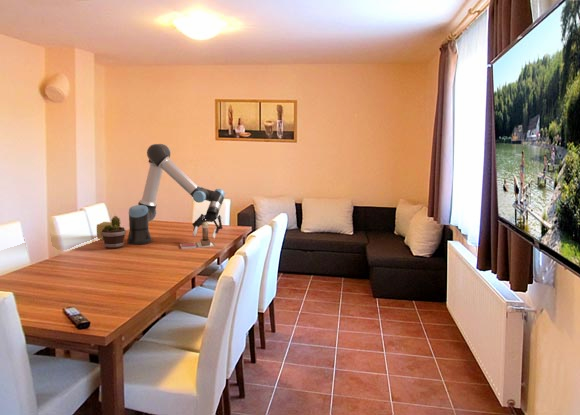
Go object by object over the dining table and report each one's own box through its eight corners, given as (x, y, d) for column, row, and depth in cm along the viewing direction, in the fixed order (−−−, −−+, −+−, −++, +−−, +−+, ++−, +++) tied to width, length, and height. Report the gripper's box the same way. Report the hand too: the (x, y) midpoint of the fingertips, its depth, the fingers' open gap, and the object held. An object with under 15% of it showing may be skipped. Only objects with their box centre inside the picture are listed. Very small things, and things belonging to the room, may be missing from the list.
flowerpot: (118, 250, 265) (117, 217, 262) (95, 249, 268) (94, 216, 265) (131, 245, 279) (130, 214, 276) (109, 243, 282) (108, 212, 279)
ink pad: (179, 245, 280) (179, 243, 280) (194, 244, 283) (194, 242, 283) (181, 248, 272) (181, 246, 272) (196, 247, 275) (196, 245, 275)
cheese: (118, 236, 305) (118, 222, 303) (111, 239, 294) (110, 224, 293) (104, 235, 306) (103, 221, 304) (96, 239, 295) (95, 224, 294)
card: (195, 243, 287) (195, 242, 287) (212, 242, 290) (212, 241, 290) (197, 247, 276) (197, 246, 276) (215, 246, 280) (215, 245, 280)
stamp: (200, 243, 286) (200, 221, 284) (208, 243, 287) (208, 220, 285) (202, 245, 279) (202, 223, 277) (210, 245, 281) (210, 222, 279)
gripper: (232, 214, 292) (223, 241, 280) (198, 211, 299) (187, 238, 287) (229, 207, 286) (219, 234, 274) (194, 205, 293) (183, 231, 281)
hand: (203, 236), depth 280 cm, fingers open, 13 cm apart
